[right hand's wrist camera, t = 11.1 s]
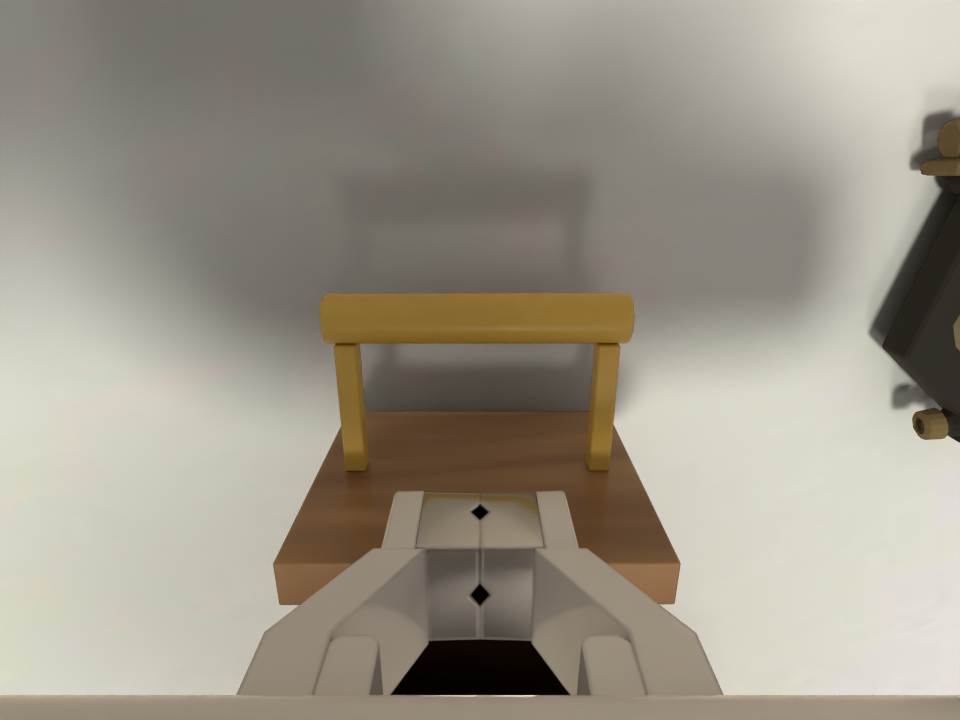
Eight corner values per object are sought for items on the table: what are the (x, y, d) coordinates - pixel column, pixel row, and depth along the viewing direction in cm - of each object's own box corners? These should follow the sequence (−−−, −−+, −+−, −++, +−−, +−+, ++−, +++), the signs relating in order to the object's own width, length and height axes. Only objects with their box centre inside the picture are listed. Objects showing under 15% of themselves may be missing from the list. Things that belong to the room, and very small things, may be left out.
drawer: (334, 266, 18) (237, 346, 11) (619, 265, 18) (714, 345, 11) (382, 797, 27) (347, 1039, 20) (574, 797, 27) (609, 1037, 20)
